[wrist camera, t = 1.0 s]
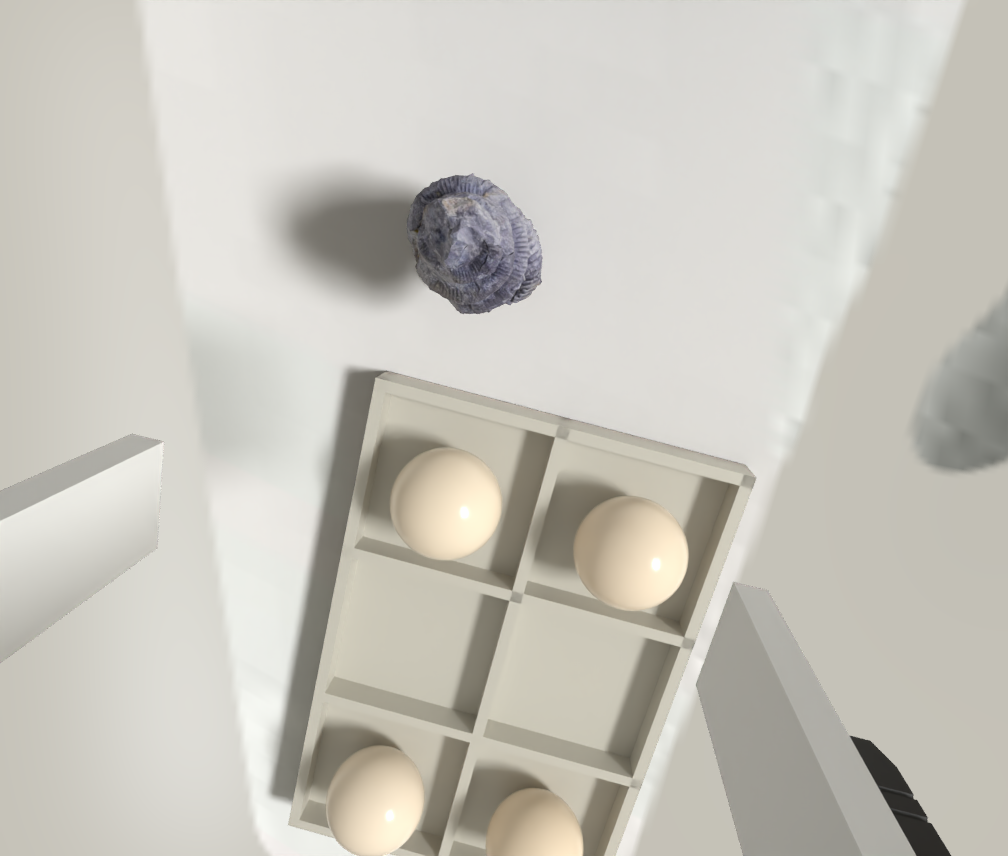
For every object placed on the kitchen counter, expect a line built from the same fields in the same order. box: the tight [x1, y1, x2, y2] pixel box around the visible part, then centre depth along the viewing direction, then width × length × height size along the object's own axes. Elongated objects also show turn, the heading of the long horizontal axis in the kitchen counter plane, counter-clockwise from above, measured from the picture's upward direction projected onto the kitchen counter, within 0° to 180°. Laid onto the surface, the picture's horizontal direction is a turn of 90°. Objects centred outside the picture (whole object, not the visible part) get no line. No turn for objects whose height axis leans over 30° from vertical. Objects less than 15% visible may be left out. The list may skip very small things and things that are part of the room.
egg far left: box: [326, 745, 425, 856], centre depth 36 cm, size 5×5×5 cm
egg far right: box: [485, 788, 584, 856], centre depth 36 cm, size 5×5×5 cm
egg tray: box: [288, 371, 756, 856], centre depth 35 cm, size 28×19×2 cm
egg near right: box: [573, 496, 689, 611], centre depth 31 cm, size 5×5×5 cm
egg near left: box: [390, 447, 502, 560], centre depth 31 cm, size 5×5×5 cm
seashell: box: [407, 174, 542, 314], centre depth 26 cm, size 5×5×10 cm
